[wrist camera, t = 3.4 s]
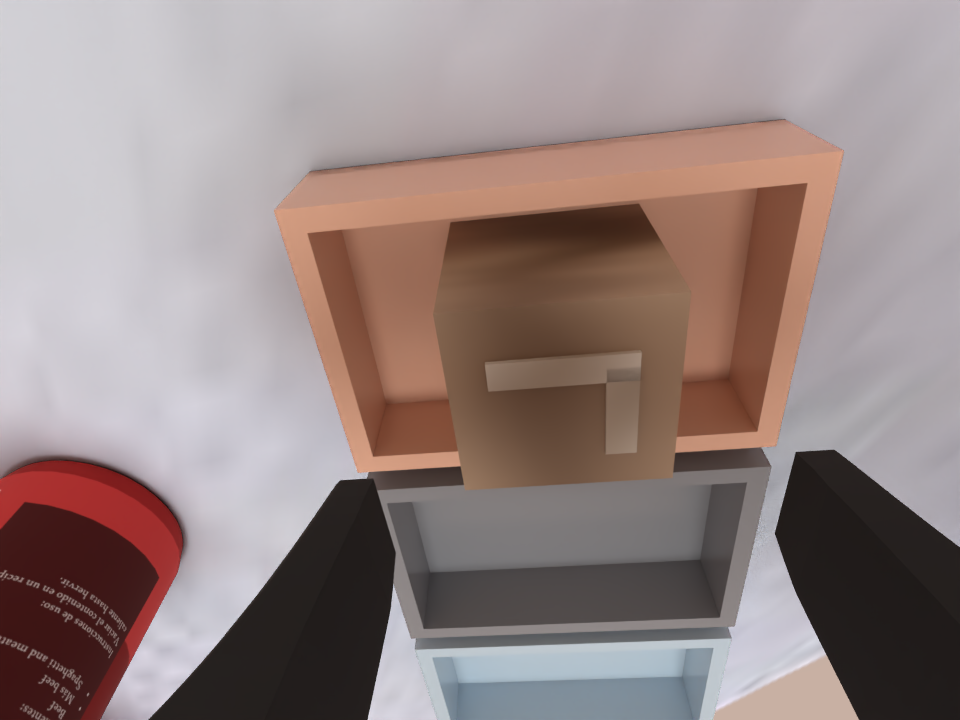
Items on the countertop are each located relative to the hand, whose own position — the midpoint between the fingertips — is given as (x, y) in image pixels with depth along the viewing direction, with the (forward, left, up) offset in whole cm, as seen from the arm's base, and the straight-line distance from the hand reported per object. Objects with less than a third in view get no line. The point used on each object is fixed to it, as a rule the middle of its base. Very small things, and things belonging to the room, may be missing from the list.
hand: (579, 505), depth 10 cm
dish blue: (0, +18, -8) cm, 20 cm away
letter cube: (0, 0, -8) cm, 8 cm away
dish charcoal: (0, +9, -8) cm, 12 cm away
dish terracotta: (0, 0, -8) cm, 8 cm away
